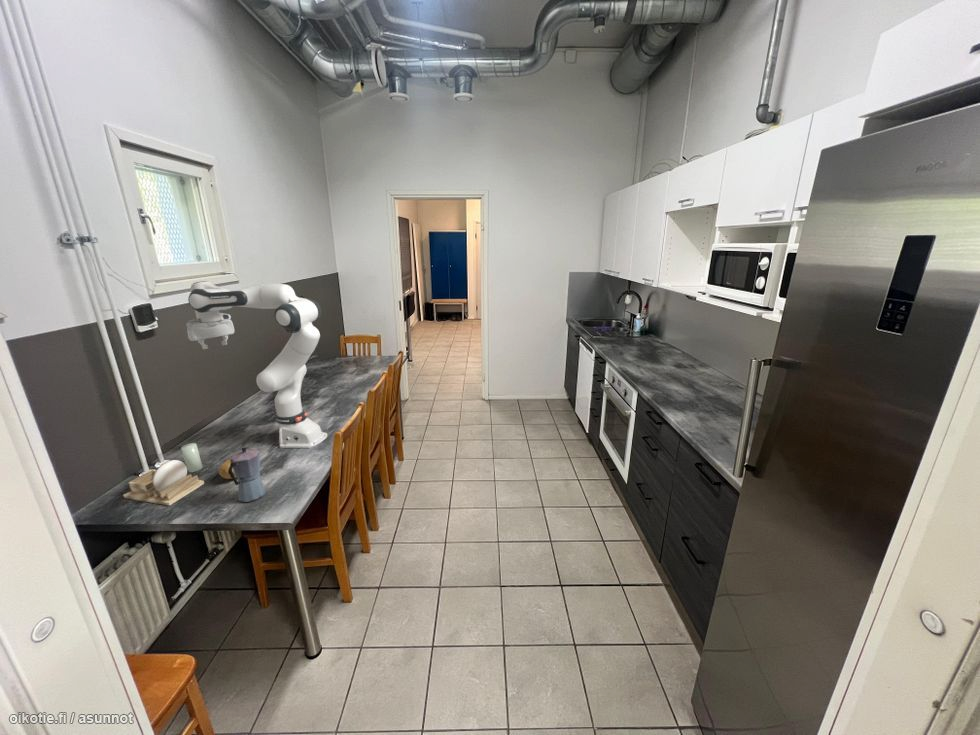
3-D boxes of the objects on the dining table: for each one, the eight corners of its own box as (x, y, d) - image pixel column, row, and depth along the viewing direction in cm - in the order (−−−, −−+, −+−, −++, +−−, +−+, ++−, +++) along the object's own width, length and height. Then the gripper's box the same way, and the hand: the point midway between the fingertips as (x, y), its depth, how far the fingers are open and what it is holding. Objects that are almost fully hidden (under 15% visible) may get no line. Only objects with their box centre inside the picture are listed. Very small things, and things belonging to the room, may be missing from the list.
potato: (258, 464, 166) (254, 448, 164) (240, 483, 153) (236, 466, 150) (234, 466, 166) (230, 449, 163) (215, 485, 152) (210, 468, 150)
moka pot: (275, 483, 153) (265, 439, 146) (253, 509, 138) (242, 460, 132) (251, 484, 152) (240, 440, 146) (227, 510, 138) (214, 461, 131)
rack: (204, 483, 153) (196, 454, 149) (169, 505, 141) (159, 474, 136) (161, 476, 158) (152, 448, 154) (124, 497, 145) (113, 467, 141)
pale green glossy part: (205, 466, 166) (199, 443, 162) (194, 472, 161) (187, 449, 158) (196, 464, 167) (189, 442, 164) (184, 471, 162) (177, 448, 159)
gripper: (190, 320, 165) (198, 351, 168) (233, 314, 184) (239, 342, 187) (180, 320, 167) (187, 351, 170) (223, 315, 186) (229, 342, 189)
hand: (215, 346), depth 179 cm, fingers open, 8 cm apart
